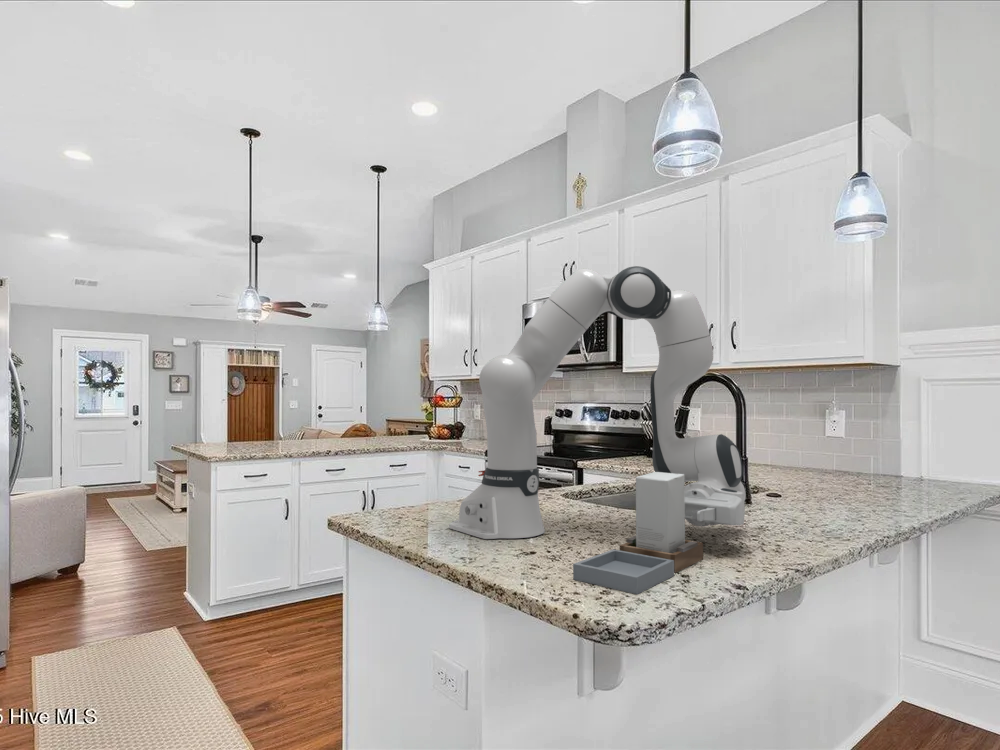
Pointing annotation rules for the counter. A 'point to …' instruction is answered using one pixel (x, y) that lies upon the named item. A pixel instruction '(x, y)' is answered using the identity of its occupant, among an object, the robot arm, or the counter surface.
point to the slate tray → (624, 571)
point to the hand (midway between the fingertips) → (671, 513)
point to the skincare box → (660, 511)
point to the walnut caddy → (682, 558)
